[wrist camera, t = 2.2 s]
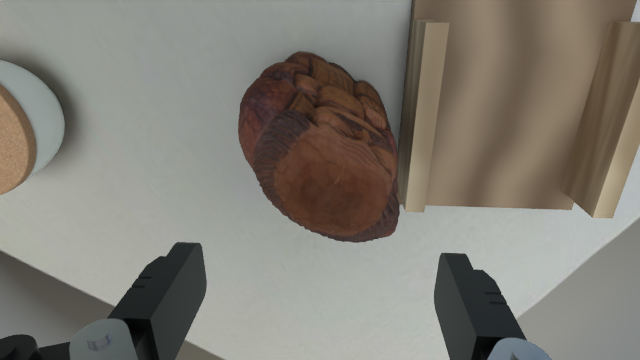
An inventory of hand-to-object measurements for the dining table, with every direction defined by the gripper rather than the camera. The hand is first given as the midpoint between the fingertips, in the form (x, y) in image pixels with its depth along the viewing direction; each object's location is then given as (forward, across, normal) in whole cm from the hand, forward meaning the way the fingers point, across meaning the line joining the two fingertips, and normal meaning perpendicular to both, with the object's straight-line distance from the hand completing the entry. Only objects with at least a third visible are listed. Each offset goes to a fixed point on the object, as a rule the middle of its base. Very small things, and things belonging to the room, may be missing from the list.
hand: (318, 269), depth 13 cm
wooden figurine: (+24, 0, 0) cm, 24 cm away
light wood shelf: (+24, -14, 0) cm, 27 cm away
